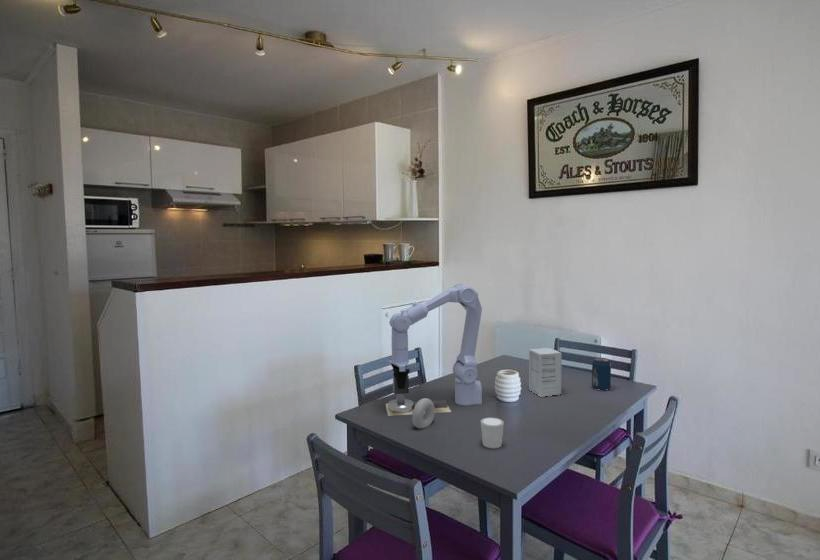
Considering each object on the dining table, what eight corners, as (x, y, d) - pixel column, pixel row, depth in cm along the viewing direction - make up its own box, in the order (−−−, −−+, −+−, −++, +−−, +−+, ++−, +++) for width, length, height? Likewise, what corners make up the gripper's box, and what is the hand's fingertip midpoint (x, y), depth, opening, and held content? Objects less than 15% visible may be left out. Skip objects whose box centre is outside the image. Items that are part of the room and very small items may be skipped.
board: (444, 403, 176) (444, 400, 176) (451, 415, 164) (451, 411, 164) (385, 406, 174) (385, 403, 173) (388, 419, 162) (388, 415, 162)
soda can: (611, 387, 192) (612, 358, 190) (608, 392, 186) (609, 362, 185) (593, 384, 195) (594, 356, 194) (589, 389, 190) (590, 360, 188)
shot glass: (478, 439, 145) (478, 417, 144) (500, 438, 145) (500, 416, 145) (483, 449, 138) (483, 426, 137) (506, 448, 139) (506, 425, 138)
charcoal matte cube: (406, 388, 170) (406, 372, 170) (408, 393, 165) (408, 376, 165) (392, 389, 170) (392, 372, 169) (394, 393, 165) (394, 377, 164)
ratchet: (444, 401, 175) (444, 389, 174) (449, 410, 166) (449, 397, 165) (387, 404, 172) (386, 392, 172) (389, 414, 163) (388, 401, 163)
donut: (419, 435, 148) (418, 404, 147) (410, 432, 151) (409, 402, 150) (437, 425, 156) (436, 395, 155) (428, 422, 158) (428, 393, 157)
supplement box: (561, 395, 183) (562, 352, 181) (540, 397, 181) (540, 354, 179) (548, 387, 192) (549, 347, 191) (528, 390, 190) (528, 348, 188)
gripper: (386, 343, 173) (387, 380, 174) (390, 353, 158) (390, 393, 160) (406, 343, 174) (406, 379, 175) (411, 352, 159) (411, 392, 161)
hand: (400, 385), depth 167 cm, fingers closed on charcoal matte cube, 5 cm apart
